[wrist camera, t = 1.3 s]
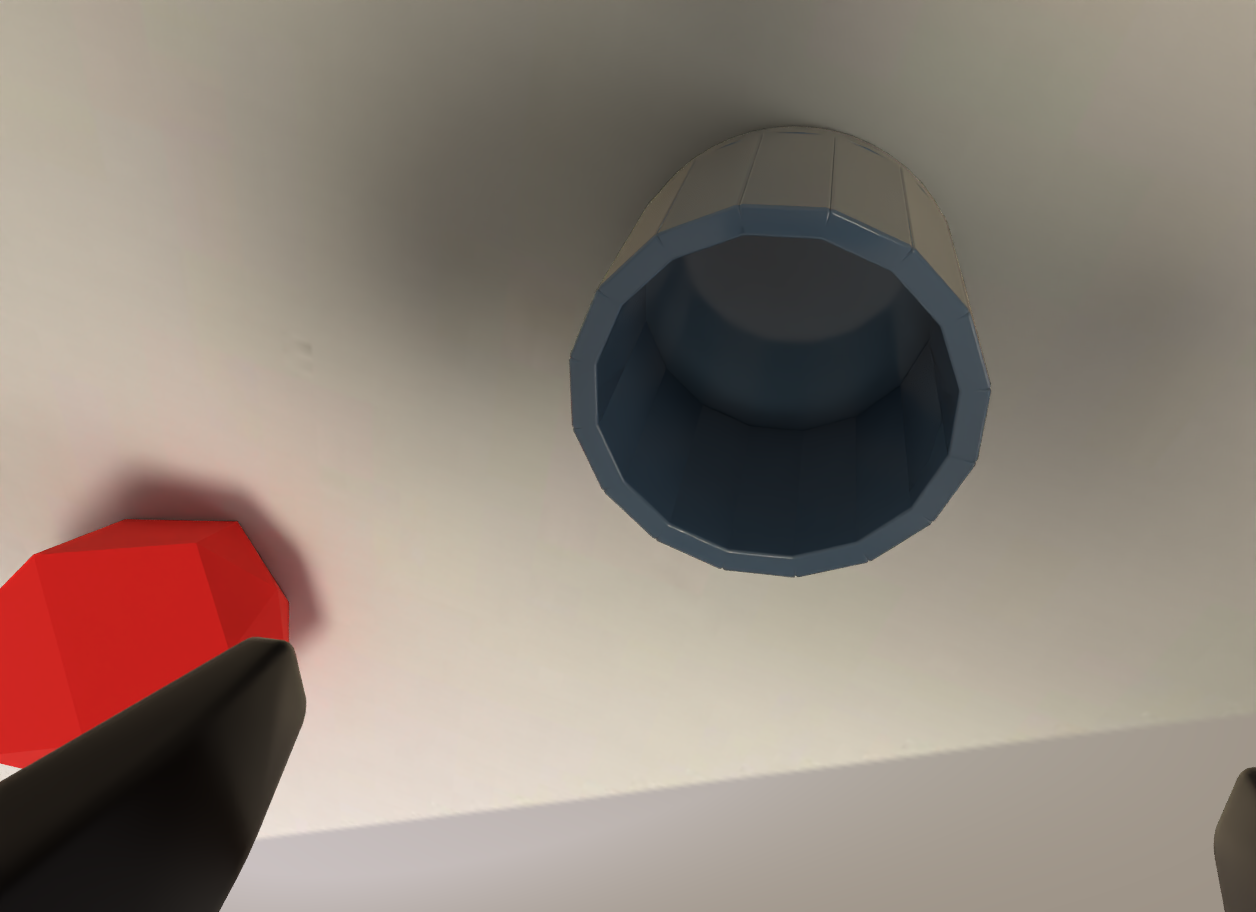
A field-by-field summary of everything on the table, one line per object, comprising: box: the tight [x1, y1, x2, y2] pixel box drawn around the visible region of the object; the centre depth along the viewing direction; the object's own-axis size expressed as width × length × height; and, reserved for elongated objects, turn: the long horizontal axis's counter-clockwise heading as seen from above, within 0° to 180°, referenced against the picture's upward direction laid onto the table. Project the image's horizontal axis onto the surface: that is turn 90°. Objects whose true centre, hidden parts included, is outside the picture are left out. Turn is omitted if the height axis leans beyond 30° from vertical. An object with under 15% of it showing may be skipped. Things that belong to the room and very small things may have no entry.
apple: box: [0, 519, 289, 769], centre depth 24 cm, size 7×7×8 cm
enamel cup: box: [569, 126, 991, 577], centre depth 17 cm, size 6×6×5 cm
